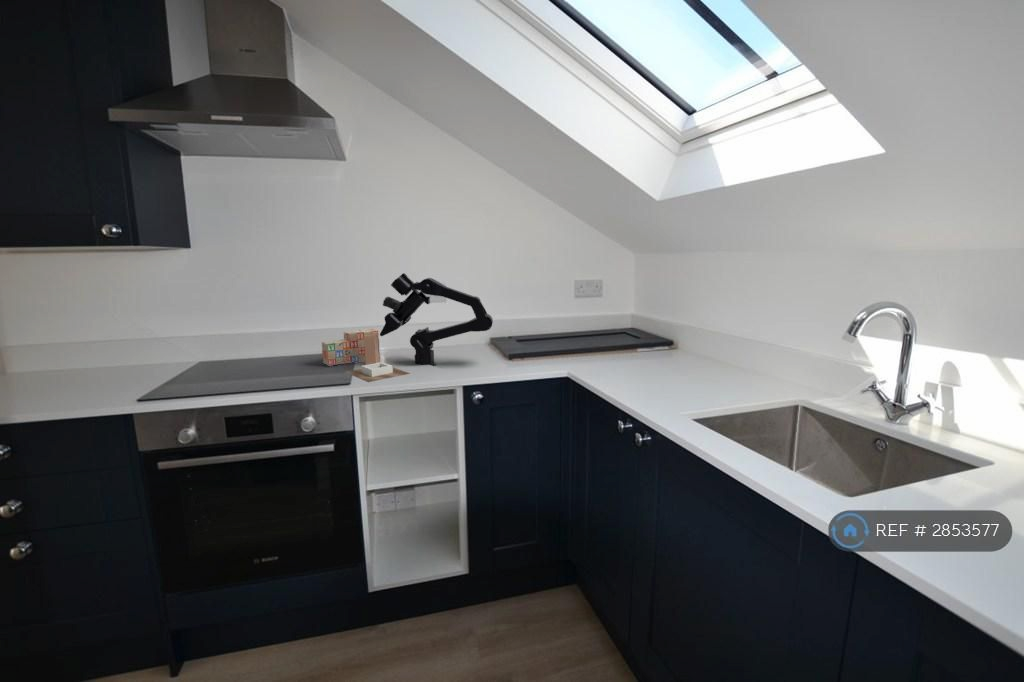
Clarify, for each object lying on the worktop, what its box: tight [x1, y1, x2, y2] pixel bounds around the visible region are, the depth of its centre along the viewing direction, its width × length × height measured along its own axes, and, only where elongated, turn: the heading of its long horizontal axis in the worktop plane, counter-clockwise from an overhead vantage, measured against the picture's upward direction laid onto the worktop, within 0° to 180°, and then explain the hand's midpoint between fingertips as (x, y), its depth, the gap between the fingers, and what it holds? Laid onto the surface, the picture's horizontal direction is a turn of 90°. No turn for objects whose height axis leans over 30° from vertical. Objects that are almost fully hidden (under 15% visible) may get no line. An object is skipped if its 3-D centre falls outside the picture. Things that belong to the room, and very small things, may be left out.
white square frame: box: [361, 361, 393, 377], centre depth 170 cm, size 8×8×2 cm
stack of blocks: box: [321, 328, 381, 365], centre depth 192 cm, size 21×6×12 cm, turn 129°
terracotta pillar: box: [364, 334, 380, 365], centre depth 183 cm, size 4×4×12 cm
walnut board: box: [345, 366, 411, 383], centre depth 170 cm, size 16×19×1 cm
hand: (384, 333), depth 181 cm, fingers open, 9 cm apart
